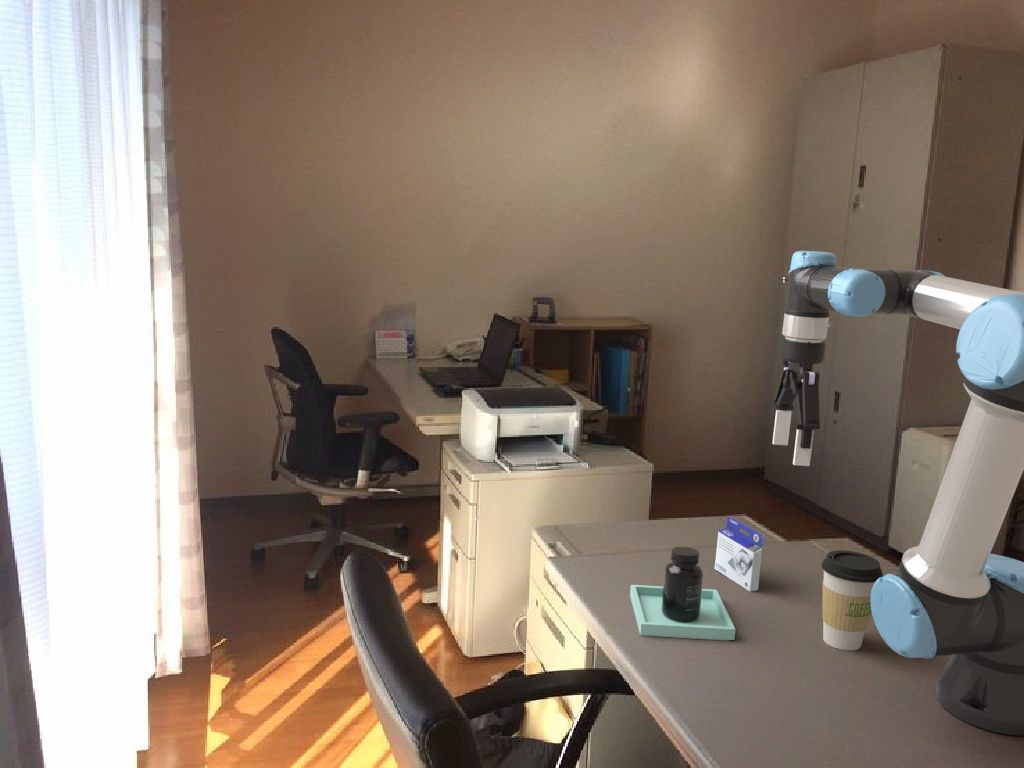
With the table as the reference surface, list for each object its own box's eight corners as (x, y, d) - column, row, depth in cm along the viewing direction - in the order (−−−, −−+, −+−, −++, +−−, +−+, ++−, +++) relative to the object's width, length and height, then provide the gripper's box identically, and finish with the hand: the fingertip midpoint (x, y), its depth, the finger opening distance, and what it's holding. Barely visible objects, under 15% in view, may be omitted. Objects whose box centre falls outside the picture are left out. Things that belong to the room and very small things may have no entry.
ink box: (712, 569, 185) (718, 515, 183) (722, 568, 186) (727, 514, 184) (749, 593, 175) (756, 536, 172) (759, 591, 176) (765, 534, 173)
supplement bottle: (697, 607, 166) (703, 545, 163) (701, 624, 159) (708, 560, 157) (659, 604, 166) (665, 542, 164) (661, 621, 160) (667, 556, 157)
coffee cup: (877, 659, 151) (889, 575, 148) (815, 650, 153) (826, 567, 150) (867, 632, 161) (878, 553, 158) (809, 625, 162) (819, 545, 159)
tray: (734, 640, 155) (735, 629, 155) (640, 635, 155) (641, 623, 155) (715, 600, 171) (716, 589, 170) (629, 595, 171) (630, 584, 170)
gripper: (849, 351, 149) (833, 476, 153) (804, 330, 174) (791, 437, 178) (803, 349, 149) (788, 473, 154) (764, 328, 174) (752, 435, 178)
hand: (790, 454), depth 166 cm, fingers open, 13 cm apart
